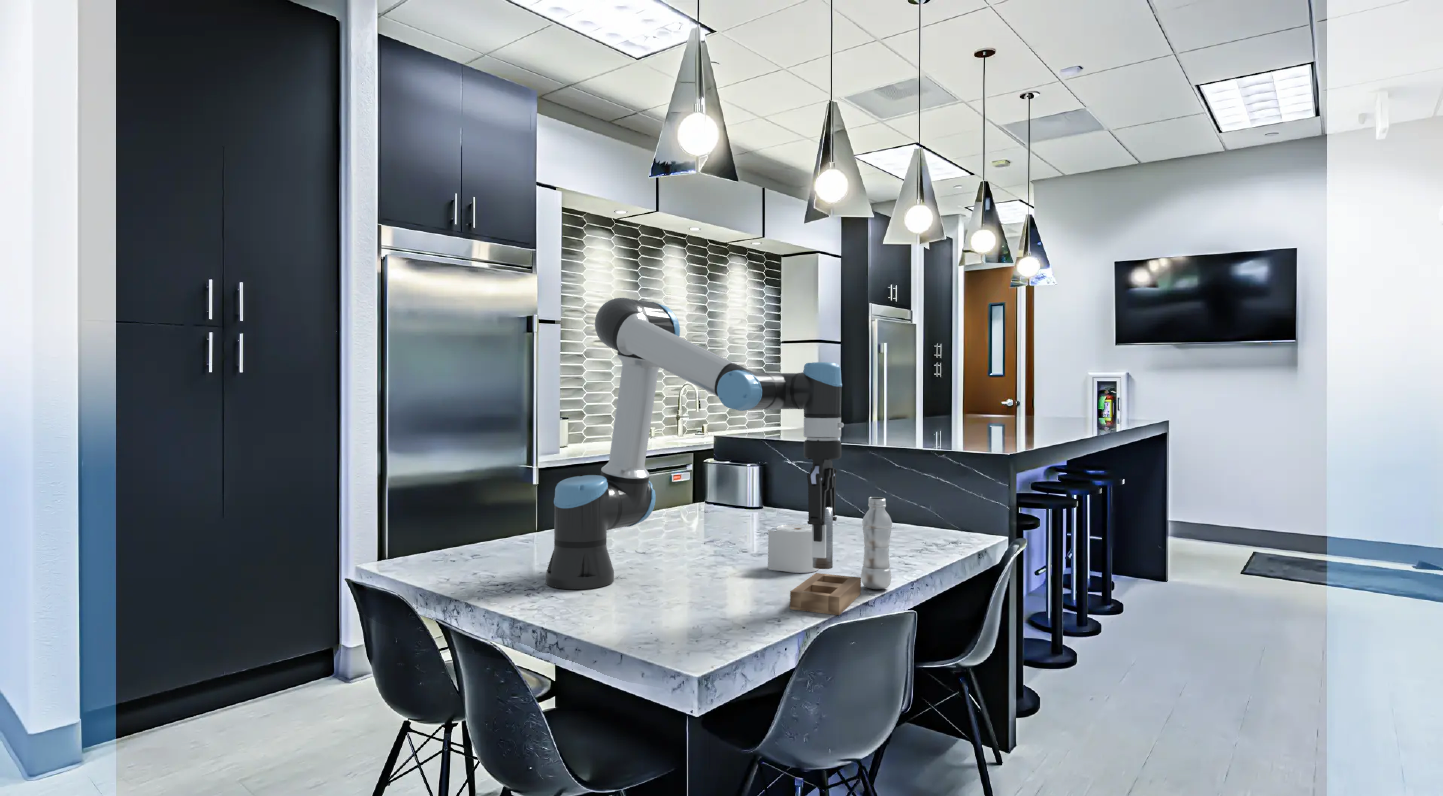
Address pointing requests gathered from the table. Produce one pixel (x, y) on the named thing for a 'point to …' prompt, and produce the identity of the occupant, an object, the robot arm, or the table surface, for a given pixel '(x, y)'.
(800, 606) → the block
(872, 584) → the plastic bottle
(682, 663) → the table surface
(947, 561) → the table surface
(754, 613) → the table surface
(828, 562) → the pin
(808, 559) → the toilet tissue
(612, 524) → the robot arm
